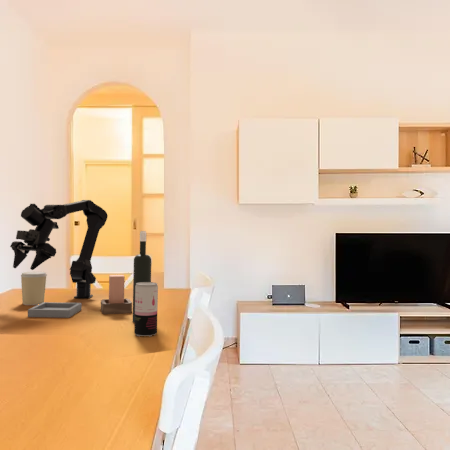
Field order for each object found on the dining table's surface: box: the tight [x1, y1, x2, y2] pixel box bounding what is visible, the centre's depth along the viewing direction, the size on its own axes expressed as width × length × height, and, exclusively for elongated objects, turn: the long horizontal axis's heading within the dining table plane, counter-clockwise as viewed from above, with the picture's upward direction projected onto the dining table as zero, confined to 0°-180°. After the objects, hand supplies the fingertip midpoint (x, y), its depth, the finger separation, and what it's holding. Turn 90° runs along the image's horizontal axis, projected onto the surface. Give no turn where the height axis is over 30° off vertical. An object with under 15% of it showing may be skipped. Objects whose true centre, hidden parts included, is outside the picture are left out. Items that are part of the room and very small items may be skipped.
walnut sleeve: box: [100, 298, 133, 315], centre depth 167 cm, size 10×10×4 cm
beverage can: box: [133, 281, 159, 337], centre depth 134 cm, size 7×7×15 cm
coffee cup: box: [20, 271, 48, 306], centre depth 179 cm, size 9×9×12 cm
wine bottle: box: [132, 230, 152, 324], centre depth 151 cm, size 6×6×30 cm
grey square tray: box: [27, 301, 83, 319], centre depth 161 cm, size 14×14×2 cm
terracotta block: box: [108, 274, 126, 304], centre depth 167 cm, size 5×5×13 cm
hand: (22, 268), depth 167 cm, fingers open, 9 cm apart
